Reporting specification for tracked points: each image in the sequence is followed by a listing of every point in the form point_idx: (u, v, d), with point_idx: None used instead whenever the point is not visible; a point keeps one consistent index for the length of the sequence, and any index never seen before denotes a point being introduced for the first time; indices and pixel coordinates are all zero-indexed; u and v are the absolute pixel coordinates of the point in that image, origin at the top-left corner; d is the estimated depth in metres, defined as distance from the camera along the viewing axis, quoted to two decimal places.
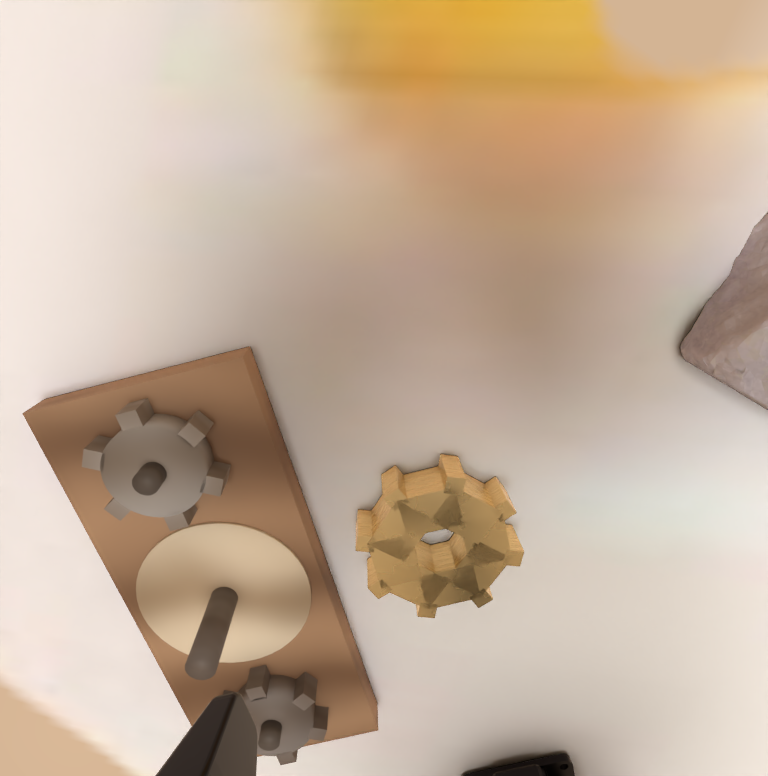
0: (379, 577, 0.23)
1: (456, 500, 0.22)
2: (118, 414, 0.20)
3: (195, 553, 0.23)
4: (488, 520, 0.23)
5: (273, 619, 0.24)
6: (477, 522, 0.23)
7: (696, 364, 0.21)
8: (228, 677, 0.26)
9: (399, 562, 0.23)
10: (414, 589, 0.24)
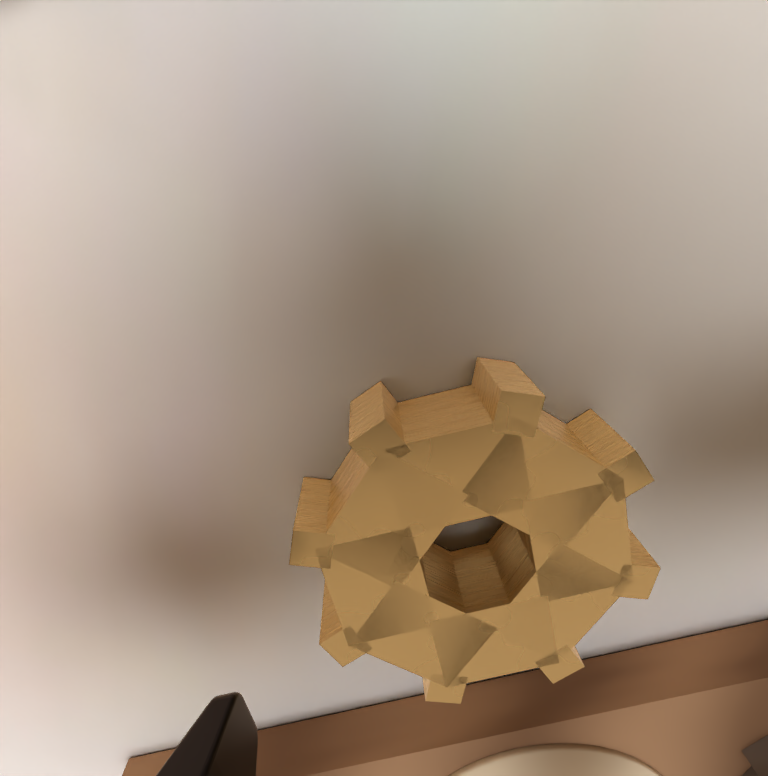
0: (529, 667, 0.11)
1: (348, 544, 0.10)
2: None
3: None
4: (403, 478, 0.10)
5: None
6: (407, 500, 0.10)
7: None
8: None
9: (498, 635, 0.11)
10: (572, 608, 0.11)
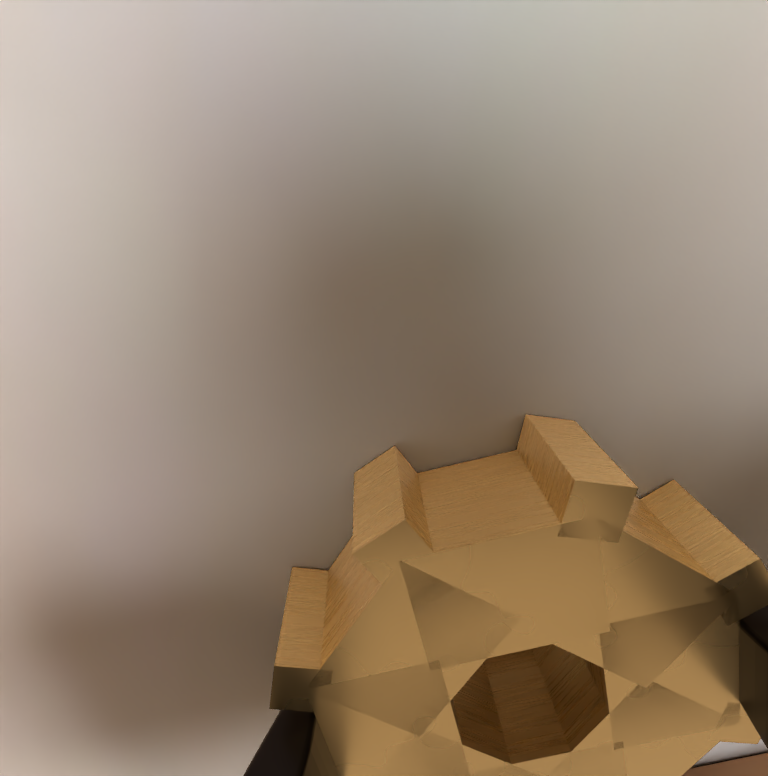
0: None
1: (351, 682, 0.07)
2: None
3: None
4: (430, 597, 0.07)
5: None
6: (435, 626, 0.07)
7: None
8: None
9: None
10: (655, 755, 0.08)
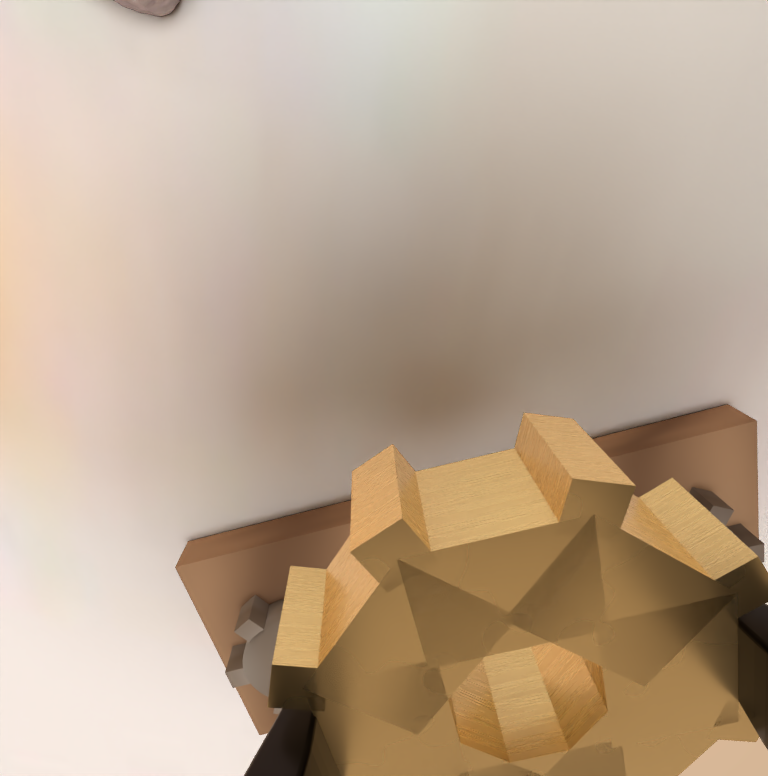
0: None
1: (349, 681, 0.07)
2: (232, 684, 0.20)
3: None
4: (428, 596, 0.07)
5: None
6: (433, 624, 0.07)
7: None
8: None
9: None
10: (654, 753, 0.08)
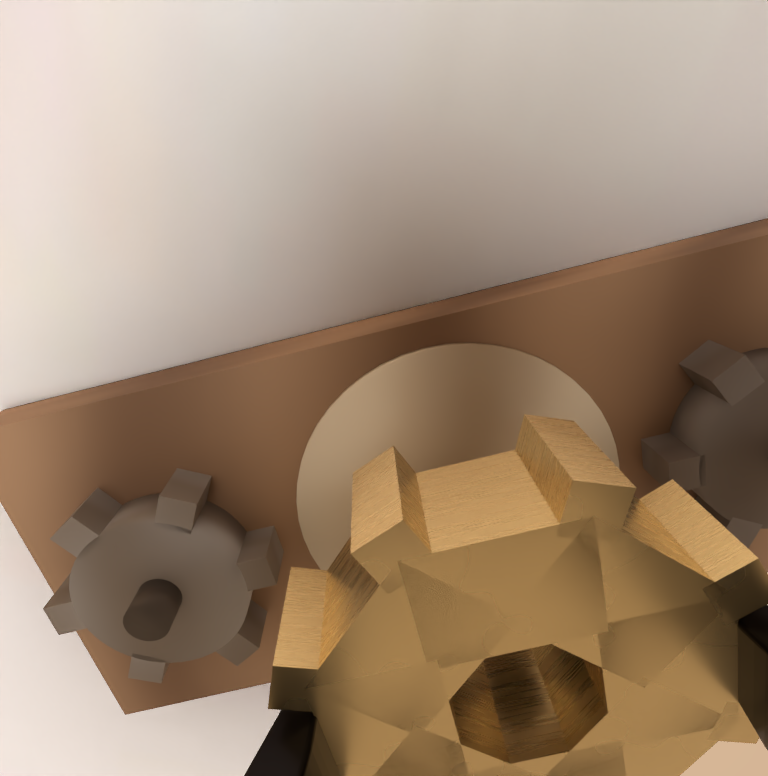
0: None
1: (350, 682, 0.07)
2: (58, 629, 0.12)
3: None
4: (428, 597, 0.07)
5: None
6: (434, 625, 0.07)
7: None
8: None
9: None
10: (654, 755, 0.08)
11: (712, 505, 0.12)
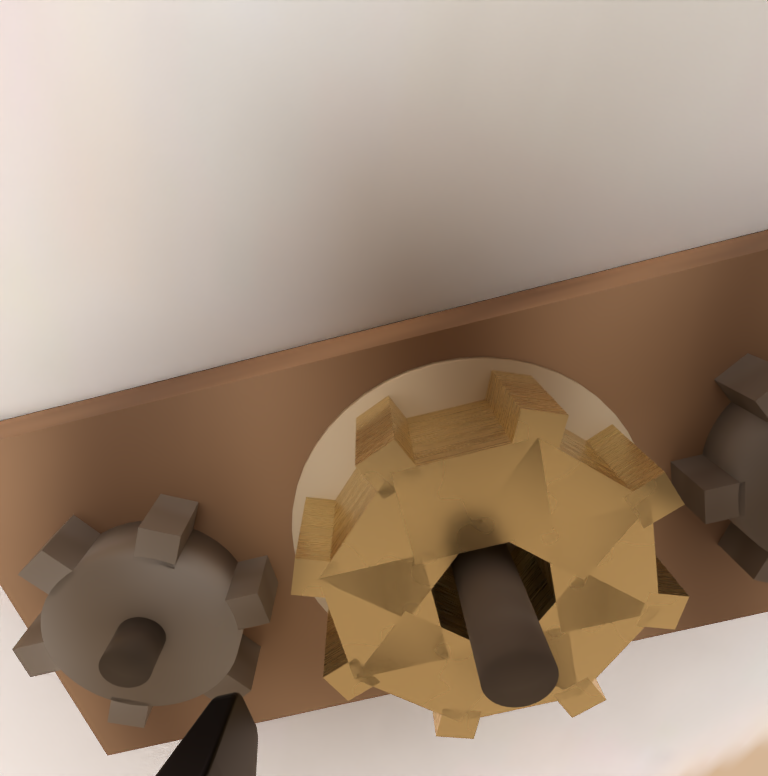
0: (547, 701, 0.11)
1: (354, 573, 0.09)
2: (29, 671, 0.11)
3: None
4: (414, 502, 0.09)
5: None
6: (418, 526, 0.09)
7: None
8: (686, 533, 0.12)
9: None
10: (594, 638, 0.10)
11: (751, 536, 0.11)
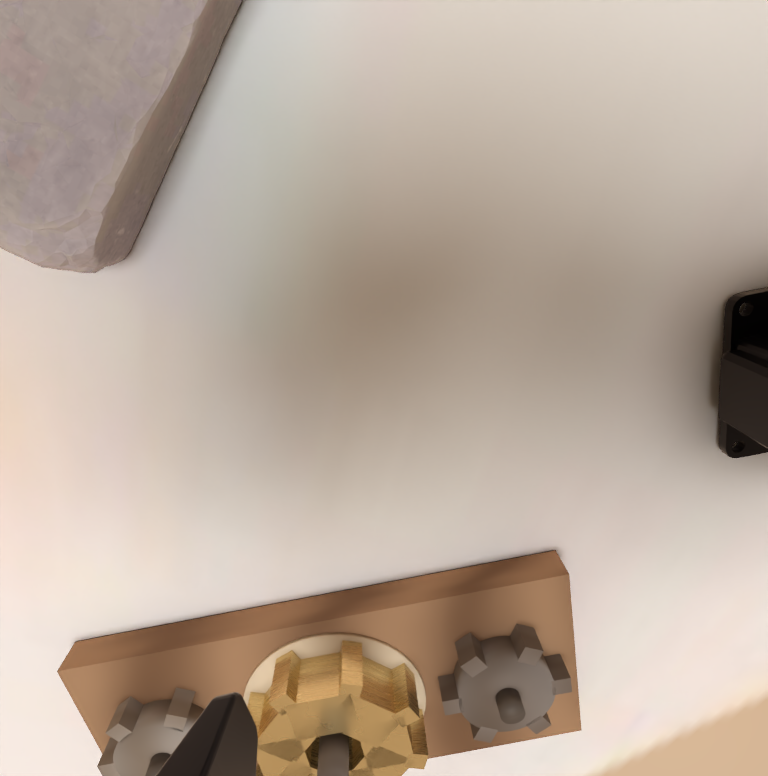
0: None
1: (268, 744, 0.20)
2: None
3: None
4: (295, 717, 0.20)
5: None
6: (298, 726, 0.20)
7: (113, 260, 0.16)
8: None
9: None
10: (385, 772, 0.21)
11: (468, 721, 0.22)
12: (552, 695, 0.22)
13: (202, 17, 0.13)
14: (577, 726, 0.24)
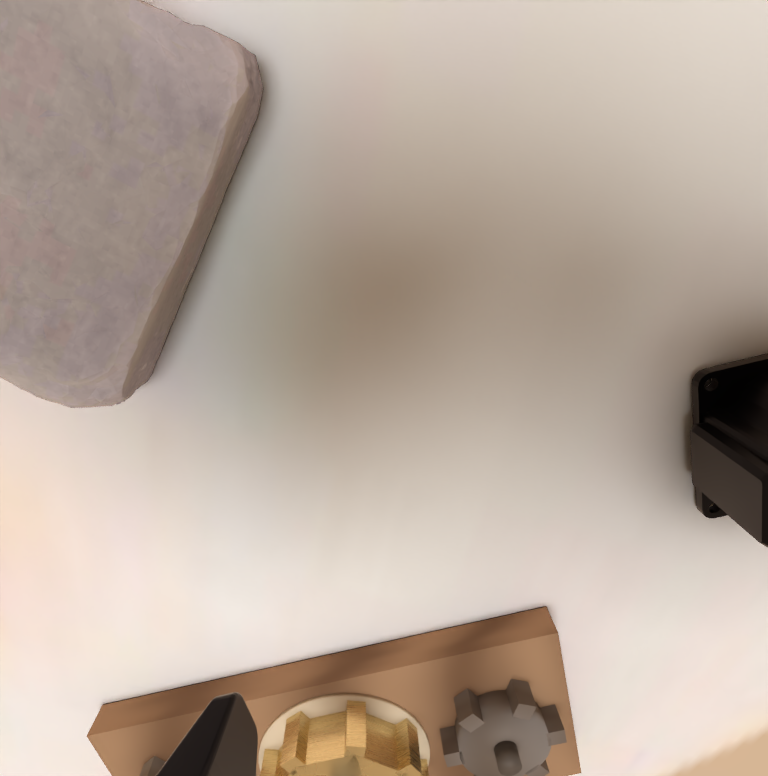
0: None
1: None
2: None
3: None
4: None
5: None
6: None
7: (138, 387, 0.18)
8: None
9: None
10: None
11: (470, 771, 0.23)
12: (548, 746, 0.23)
13: (206, 193, 0.15)
14: (577, 769, 0.25)
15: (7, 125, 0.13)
